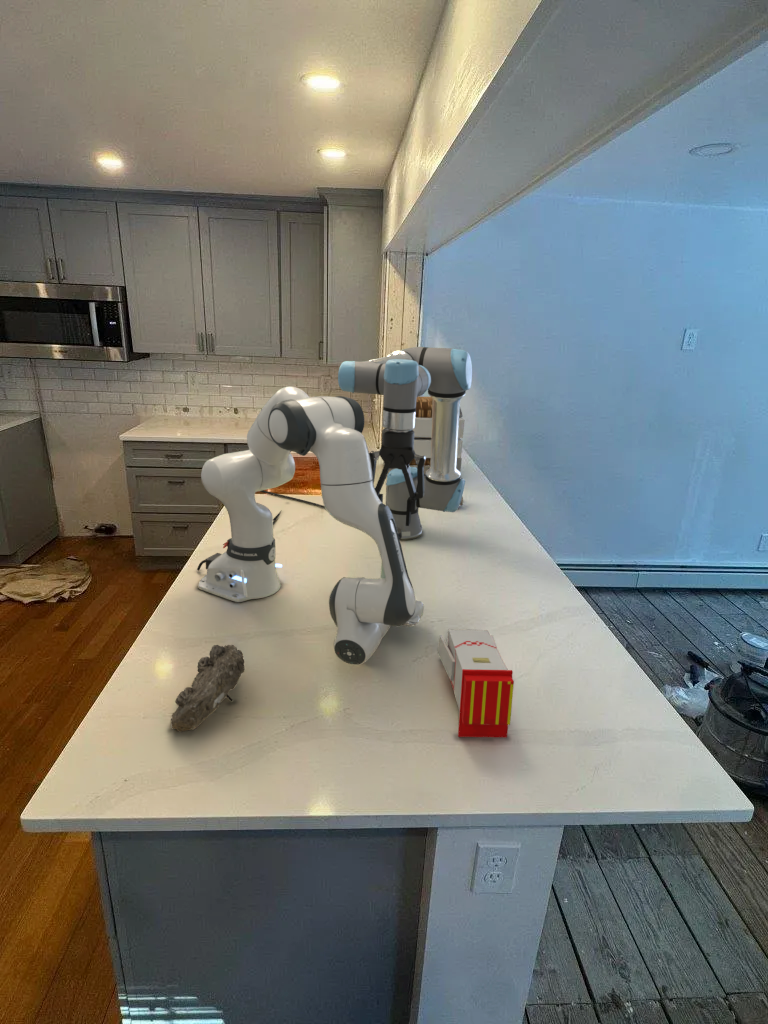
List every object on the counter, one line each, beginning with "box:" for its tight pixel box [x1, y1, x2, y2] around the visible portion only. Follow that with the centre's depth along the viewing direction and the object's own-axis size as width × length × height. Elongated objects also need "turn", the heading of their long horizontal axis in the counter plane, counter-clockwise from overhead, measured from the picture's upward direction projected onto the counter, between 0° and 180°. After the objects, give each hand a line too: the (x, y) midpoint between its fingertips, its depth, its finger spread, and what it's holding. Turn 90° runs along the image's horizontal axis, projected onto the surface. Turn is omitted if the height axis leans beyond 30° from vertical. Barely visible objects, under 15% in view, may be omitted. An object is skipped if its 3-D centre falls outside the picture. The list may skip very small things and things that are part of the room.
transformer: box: [383, 396, 465, 475], centre depth 268 cm, size 34×33×41 cm
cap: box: [397, 529, 402, 541], centre depth 139 cm, size 4×4×2 cm
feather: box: [273, 510, 282, 526], centre depth 212 cm, size 2×28×2 cm
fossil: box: [170, 644, 246, 733], centre depth 111 cm, size 22×10×15 cm
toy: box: [437, 628, 515, 738], centre depth 117 cm, size 12×13×30 cm
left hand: (390, 591), depth 146 cm, fingers closed on bottle, 5 cm apart
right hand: (393, 522), depth 138 cm, fingers open, 6 cm apart
